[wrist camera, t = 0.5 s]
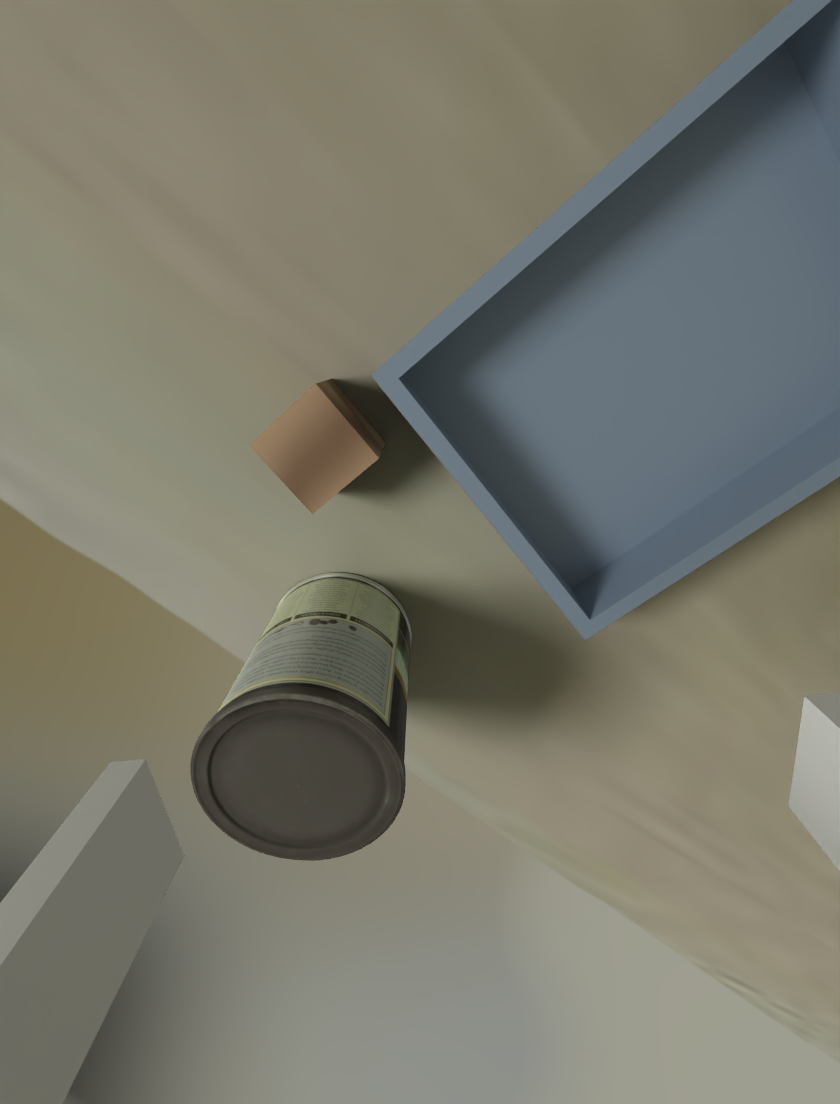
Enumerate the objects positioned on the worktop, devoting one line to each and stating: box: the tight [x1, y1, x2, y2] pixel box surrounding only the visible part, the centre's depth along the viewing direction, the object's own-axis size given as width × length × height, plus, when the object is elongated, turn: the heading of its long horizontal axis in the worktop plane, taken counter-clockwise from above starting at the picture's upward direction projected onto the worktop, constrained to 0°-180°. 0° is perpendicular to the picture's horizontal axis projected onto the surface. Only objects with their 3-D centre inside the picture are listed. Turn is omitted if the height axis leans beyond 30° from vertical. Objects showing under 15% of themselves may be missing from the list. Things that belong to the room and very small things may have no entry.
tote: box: [371, 0, 840, 640], centre depth 29 cm, size 20×26×5 cm
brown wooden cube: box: [249, 379, 386, 514], centre depth 31 cm, size 5×5×5 cm
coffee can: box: [191, 572, 412, 860], centre depth 32 cm, size 10×10×14 cm
